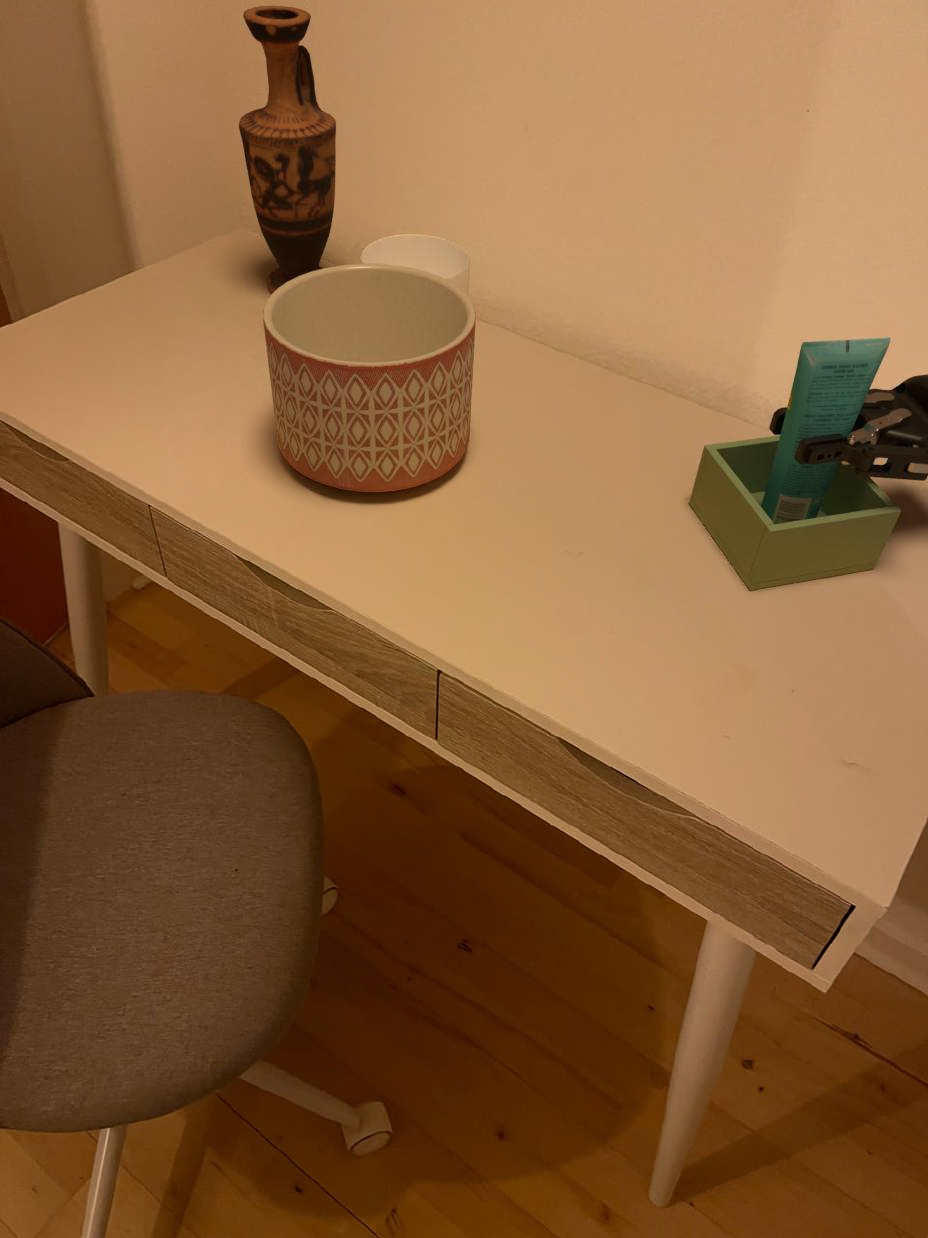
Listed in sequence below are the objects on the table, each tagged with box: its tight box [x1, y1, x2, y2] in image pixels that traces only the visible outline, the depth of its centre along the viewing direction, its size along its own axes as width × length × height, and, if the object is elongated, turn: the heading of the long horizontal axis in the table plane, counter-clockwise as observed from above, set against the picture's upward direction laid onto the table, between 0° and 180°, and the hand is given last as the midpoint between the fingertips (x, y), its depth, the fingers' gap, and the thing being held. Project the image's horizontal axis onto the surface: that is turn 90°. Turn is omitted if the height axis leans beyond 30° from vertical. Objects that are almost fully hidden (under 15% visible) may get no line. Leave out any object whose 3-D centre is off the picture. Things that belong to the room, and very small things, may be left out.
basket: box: [688, 435, 902, 591], centre depth 86 cm, size 13×13×7 cm
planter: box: [262, 263, 477, 493], centre depth 90 cm, size 19×19×15 cm
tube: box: [761, 336, 891, 524], centre depth 81 cm, size 7×5×19 cm, turn 104°
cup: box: [359, 233, 471, 298], centre depth 104 cm, size 12×12×12 cm
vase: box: [238, 5, 337, 294], centre depth 109 cm, size 11×11×30 cm
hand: (787, 437), depth 80 cm, fingers closed on tube, 4 cm apart
